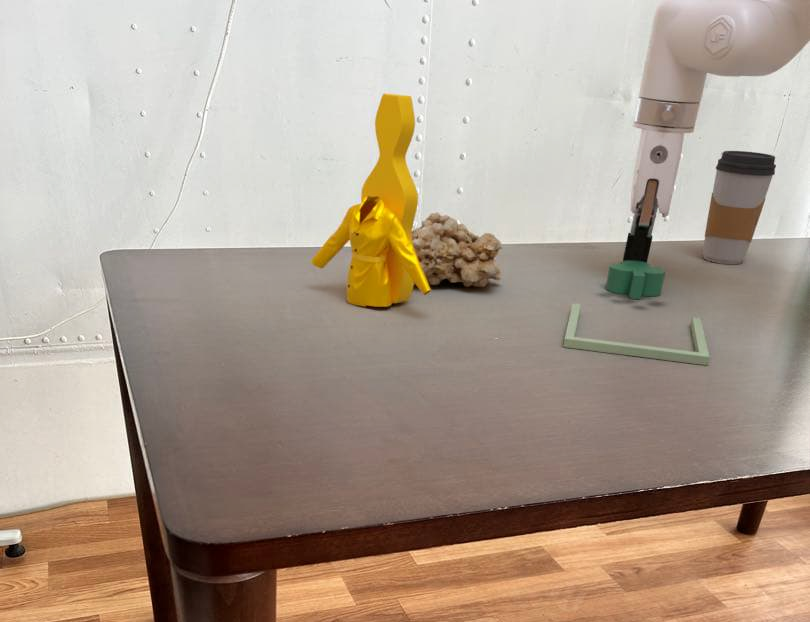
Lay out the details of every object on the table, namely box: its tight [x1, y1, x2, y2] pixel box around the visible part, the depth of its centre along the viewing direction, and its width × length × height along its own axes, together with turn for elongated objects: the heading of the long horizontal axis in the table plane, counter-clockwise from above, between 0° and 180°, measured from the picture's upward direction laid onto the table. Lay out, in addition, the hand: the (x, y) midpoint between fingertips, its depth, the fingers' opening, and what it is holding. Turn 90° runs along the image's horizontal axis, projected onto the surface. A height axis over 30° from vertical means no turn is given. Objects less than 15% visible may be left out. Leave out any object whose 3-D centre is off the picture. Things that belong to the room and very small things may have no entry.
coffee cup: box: [701, 150, 777, 265], centre depth 123 cm, size 8×8×15 cm
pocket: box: [562, 303, 710, 366], centre depth 92 cm, size 14×15×1 cm
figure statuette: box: [310, 93, 432, 308], centre depth 92 cm, size 18×8×22 cm, turn 53°
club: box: [605, 260, 666, 301], centre depth 108 cm, size 8×7×3 cm
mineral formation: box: [412, 212, 503, 288], centre depth 107 cm, size 8×13×15 cm
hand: (634, 264), depth 112 cm, fingers closed
